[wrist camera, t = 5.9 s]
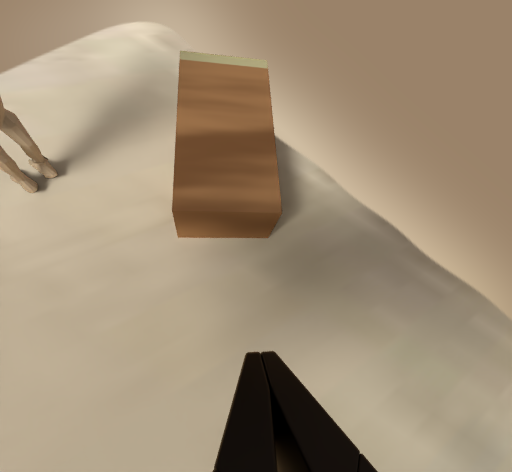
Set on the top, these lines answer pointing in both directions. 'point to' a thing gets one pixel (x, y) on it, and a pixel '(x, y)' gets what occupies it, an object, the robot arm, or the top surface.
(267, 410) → the robot arm
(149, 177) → the top surface
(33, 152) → the human figurine
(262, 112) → the walnut block
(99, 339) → the top surface
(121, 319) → the top surface
